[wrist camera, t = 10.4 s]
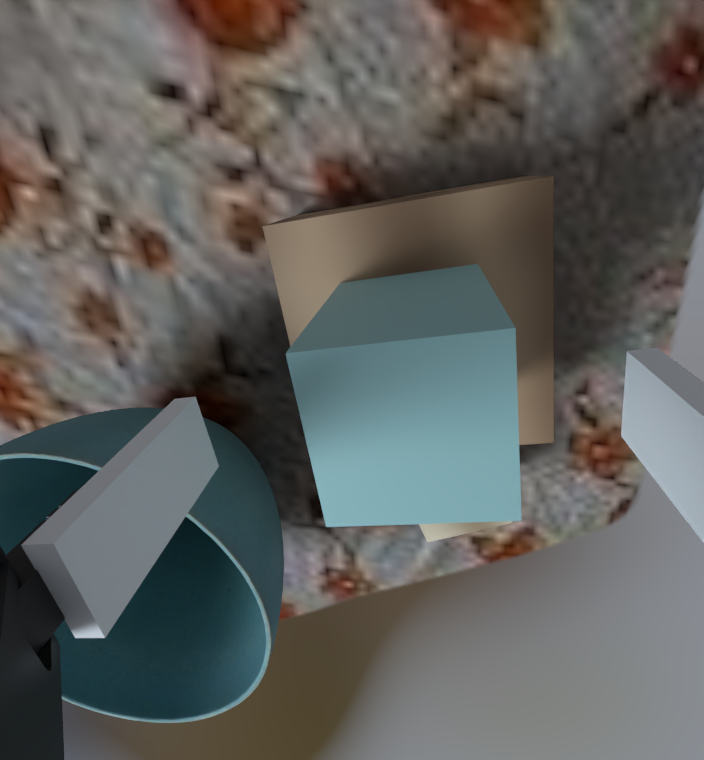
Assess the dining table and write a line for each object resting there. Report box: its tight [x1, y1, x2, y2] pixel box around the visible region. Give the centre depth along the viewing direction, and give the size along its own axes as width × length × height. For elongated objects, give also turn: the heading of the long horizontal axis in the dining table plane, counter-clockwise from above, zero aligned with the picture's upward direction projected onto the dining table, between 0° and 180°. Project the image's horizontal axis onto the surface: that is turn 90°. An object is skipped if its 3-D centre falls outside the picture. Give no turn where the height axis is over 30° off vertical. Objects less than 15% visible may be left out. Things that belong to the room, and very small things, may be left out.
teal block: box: [285, 264, 521, 527], centre depth 17 cm, size 6×6×9 cm
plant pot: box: [0, 408, 284, 723], centre depth 28 cm, size 18×18×12 cm
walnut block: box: [263, 176, 554, 445], centre depth 24 cm, size 12×12×6 cm
